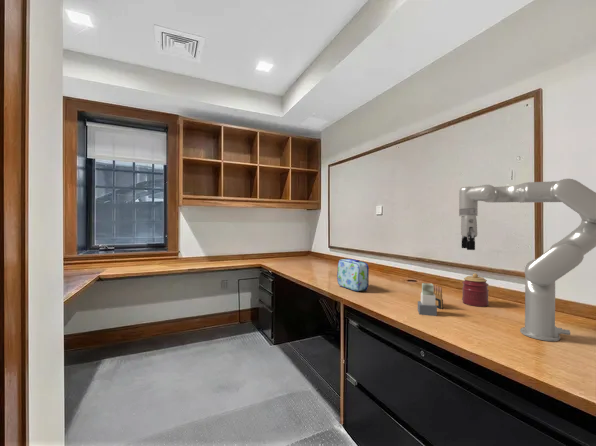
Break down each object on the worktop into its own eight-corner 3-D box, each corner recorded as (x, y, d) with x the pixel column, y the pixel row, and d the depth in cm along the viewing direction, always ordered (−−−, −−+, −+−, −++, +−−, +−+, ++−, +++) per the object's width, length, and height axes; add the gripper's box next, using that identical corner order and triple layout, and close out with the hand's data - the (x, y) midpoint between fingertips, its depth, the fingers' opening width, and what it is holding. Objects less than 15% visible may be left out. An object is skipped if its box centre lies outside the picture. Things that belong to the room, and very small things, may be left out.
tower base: (433, 311, 149) (434, 302, 149) (436, 316, 142) (436, 306, 142) (417, 310, 152) (417, 301, 152) (419, 314, 144) (419, 305, 144)
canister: (473, 300, 172) (473, 271, 172) (494, 305, 160) (494, 274, 160) (456, 301, 168) (457, 272, 168) (476, 307, 156) (476, 275, 156)
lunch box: (371, 291, 191) (371, 260, 191) (358, 293, 186) (358, 261, 186) (347, 284, 215) (347, 256, 215) (335, 285, 210) (336, 257, 210)
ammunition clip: (443, 308, 154) (443, 286, 154) (440, 309, 153) (440, 287, 153) (429, 303, 164) (429, 282, 164) (427, 303, 164) (427, 282, 164)
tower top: (433, 302, 149) (433, 292, 149) (435, 305, 143) (435, 295, 143) (420, 301, 151) (420, 292, 151) (422, 304, 145) (422, 294, 145)
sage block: (432, 293, 148) (432, 283, 148) (433, 295, 144) (433, 285, 144) (421, 292, 150) (421, 283, 150) (422, 294, 145) (422, 284, 145)
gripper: (483, 212, 125) (482, 250, 125) (472, 213, 142) (471, 247, 142) (463, 212, 127) (463, 250, 127) (455, 213, 144) (455, 247, 144)
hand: (468, 248), depth 135 cm, fingers open, 9 cm apart
